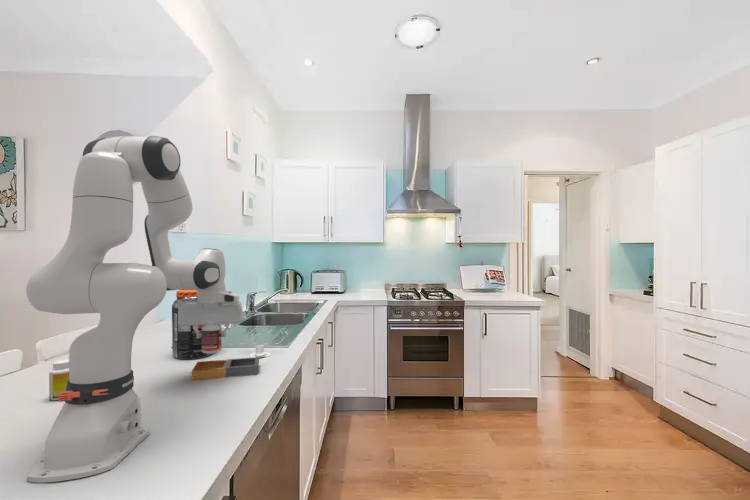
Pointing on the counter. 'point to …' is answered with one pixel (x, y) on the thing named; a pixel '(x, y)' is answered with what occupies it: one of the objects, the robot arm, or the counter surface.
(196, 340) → the supplement tub
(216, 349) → the pill bottle
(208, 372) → the rail
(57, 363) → the supplement bottle
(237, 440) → the counter surface
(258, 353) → the white looped piece
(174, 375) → the counter surface
